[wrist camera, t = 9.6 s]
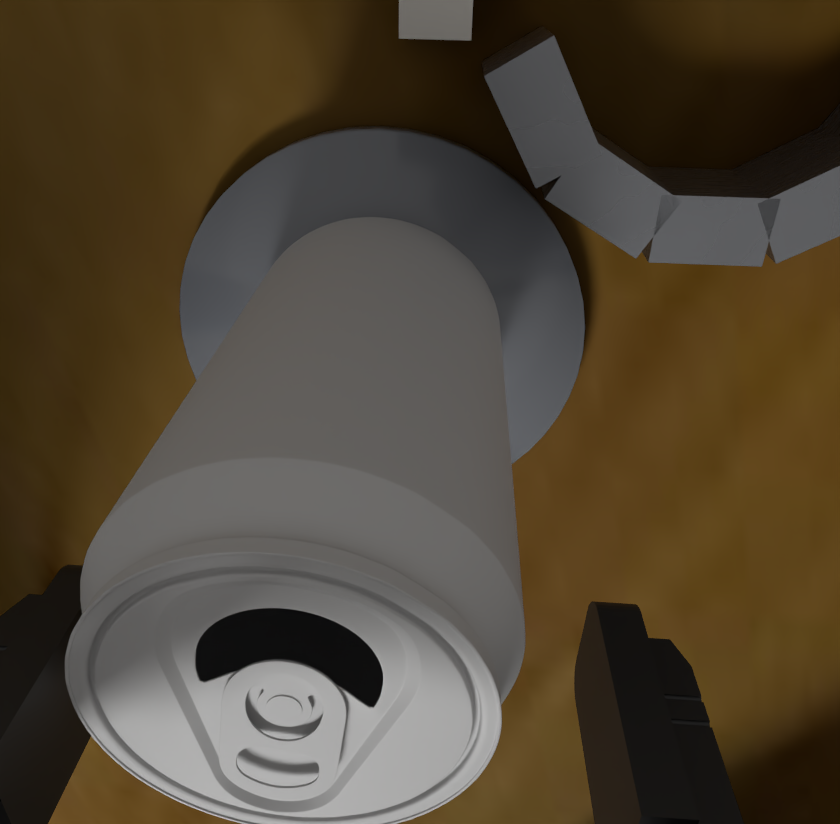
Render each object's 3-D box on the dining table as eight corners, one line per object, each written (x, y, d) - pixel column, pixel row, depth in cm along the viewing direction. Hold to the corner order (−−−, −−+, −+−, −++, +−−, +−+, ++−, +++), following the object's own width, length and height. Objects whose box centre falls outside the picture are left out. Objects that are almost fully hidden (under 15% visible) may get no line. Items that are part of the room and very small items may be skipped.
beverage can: (524, 231, 18) (597, 582, 8) (473, 442, 21) (477, 882, 11) (268, 186, 18) (-10, 485, 7) (257, 407, 21) (57, 821, 11)
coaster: (214, 480, 23) (209, 491, 23) (154, 119, 18) (145, 123, 17) (556, 496, 23) (558, 509, 22) (611, 133, 17) (616, 138, 17)
